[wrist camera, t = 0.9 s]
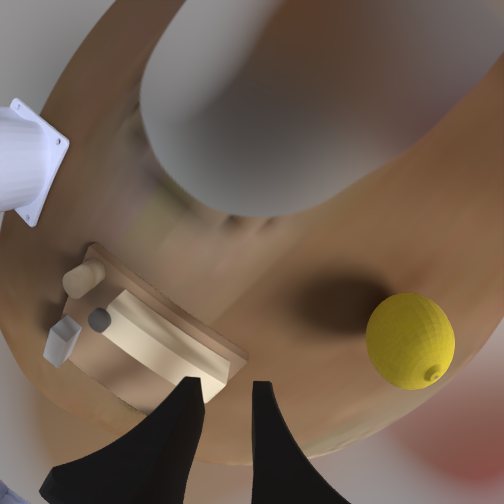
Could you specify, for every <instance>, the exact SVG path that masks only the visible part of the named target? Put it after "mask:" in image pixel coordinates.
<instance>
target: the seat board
mask: <svg viewBox="0 0 504 504" xmlns="http://www.w3.org/2000/svg"><path fill="white" fill-rule="evenodd" d="M63 287H64V289H65V291H66V293H67V294H68V295H69V296H68V298H67V301H66V304H65V307H64V310H63V312H62V315H61V318H60V321H59V322H58V323H57V324H55V325H54V326H53V327H52V328H51V329H50V333H49V336H48V340H47V343H46V347H45V351H44V355H43V356H44V357H45V358H46V359H47V360H48V361H49V362H50V363H51V364H53V365H54V366H55V367H56V368H57V369H58V368H59V367H60V366H61V365H62V363H63V362H64V361H65V360H66V359H67V358H68V359H69V360H70V361H72V362H73V363H74V364H75V365H76V366H78V367H79V368H80V369H81V370H83V371H84V372H85V373H86V374H88V375H89V376H90V377H92V378H93V379H94V380H96V381H97V382H98V383H100V384H101V385H102V386H104V387H105V388H106V389H108V390H109V391H111V392H112V393H113V394H115V395H116V396H118V397H119V398H121V399H122V400H124V401H125V402H127V403H128V404H130V405H131V406H133V407H134V408H136V409H137V410H139V411H141V412H142V413H144V414H145V415H147V416H148V415H149V414H150V413H151V412H153V411H154V410H155V409H156V408H157V407H158V406H159V404H160V403H161V402H162V401H163V400H164V399H165V398H166V397H167V396H168V395H169V394H170V393H171V392H172V391H173V389H174V388H175V387H176V385H174V384H173V383H171V382H169V381H168V380H166V379H165V378H163V377H162V376H160V375H158V374H157V373H155V372H154V371H152V370H151V369H149V368H148V367H147V366H145V365H144V364H142V363H141V362H139V361H138V360H136V359H135V358H134V357H132V356H131V355H130V354H128V353H127V352H125V351H124V350H123V349H121V348H120V347H119V346H117V345H116V344H115V343H113V342H112V341H111V340H110V339H108V338H107V337H106V336H104V335H103V334H102V333H98V332H96V331H94V330H93V329H92V328H91V327H90V325H89V323H88V316H89V314H91V313H92V312H93V311H94V310H95V309H96V308H103V309H105V310H106V309H107V307H108V305H109V304H110V303H111V302H112V301H113V300H114V299H115V298H116V297H118V296H119V295H120V294H121V293H122V292H123V291H124V290H125V289H126V290H127V291H129V292H130V293H131V294H132V295H134V296H135V297H136V298H138V299H139V300H140V301H142V302H143V303H144V304H145V305H147V306H148V307H149V308H151V309H152V310H154V311H155V312H156V313H158V314H159V315H160V316H162V317H163V318H164V319H166V320H167V321H169V322H170V323H171V324H173V325H174V326H176V327H177V328H179V329H180V330H181V331H183V332H184V333H186V334H187V335H189V336H190V337H192V338H193V339H195V340H196V341H198V342H199V343H201V344H202V345H204V346H205V347H207V348H208V349H210V350H211V351H213V352H215V353H216V354H218V355H219V356H221V357H222V358H224V359H226V360H227V361H229V362H230V367H229V373H228V378H227V381H228V380H229V379H231V378H232V377H233V376H234V375H235V374H236V373H237V372H238V371H239V370H240V369H241V368H242V367H243V366H244V365H245V364H246V363H247V362H248V357H249V353H247V352H245V351H244V350H242V349H241V348H239V347H238V346H236V345H234V344H233V343H231V342H230V341H228V340H227V339H225V338H224V337H222V336H221V335H219V334H218V333H216V332H215V331H213V330H212V329H210V328H209V327H207V326H206V325H204V324H203V323H201V322H200V321H198V320H197V319H196V318H194V317H193V316H191V315H190V314H188V313H187V312H186V311H184V310H183V309H181V308H180V307H179V306H177V305H176V304H174V303H173V302H172V301H170V300H169V299H168V298H166V297H165V296H163V295H162V294H161V293H159V292H158V291H157V290H155V289H154V288H153V287H151V286H150V285H149V284H148V283H146V282H145V281H144V280H142V279H141V278H140V277H138V276H137V275H136V274H135V273H133V272H132V271H131V270H130V269H128V268H127V267H126V266H125V265H123V264H122V263H121V262H120V261H118V260H117V259H116V258H115V257H114V256H112V255H111V254H110V253H109V252H107V251H106V250H105V249H104V248H103V247H102V246H100V245H99V244H98V243H97V242H96V243H94V244H92V245H90V246H89V248H88V250H87V252H86V254H85V257H84V259H83V261H82V263H81V265H79V266H78V267H76V268H74V269H73V270H71V271H69V272H68V273H66V274H65V275H64V277H63ZM204 403H205V402H204Z"/></svg>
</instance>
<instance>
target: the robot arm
mask: <svg viewBox="0 0 504 504" xmlns="http://www.w3.org/2000/svg"><path fill="white" fill-rule="evenodd" d="M59 140H61V142H60V144H59ZM68 147H69V140H68V139H67V138H66V137H65V136H63V135H62V134H61V133H60V132H58V131H57V130H56V129H55V128H53V127H52V126H51V125H50V124H49V123H47V122H46V121H45V120H44V119H43V118H41V117H40V116H39V115H38V114H36V113H35V112H34V111H33V110H32V109H30V108H29V107H28V106H27V105H26V104H24V103H23V102H22V101H21V100H20V99H18V98H15V99H14V100H13V101H12V103H11V105H10V107H0V212H4V211H7V210H11V209H15V211H16V212H17V213H18V214H19V215H20V216H21V217H22V218H23V220H24V221H25V222H26V223H27V224H28V225H29V226H30V227H34V226H36V224H37V221H38V218H39V215H40V213H41V210H42V207H43V204H44V202H45V199H46V197H47V194H48V191H49V189H50V187H51V184H52V182H53V179H54V177H55V175H56V173H57V170H58V168H59V166H60V164H61V162H62V160H63V157H64V155H65V153H66V151H67V149H68ZM204 415H205V407H204V400H203V393H202V385H201V378H200V377H190V376H185V377H184V378H183V379H182V380H181V381H180V382H179V383H178V385H177V386H176V387H175V388H174V389H173V391H172V392H171V393H170V394H169V395H168V396H167V397H166V398H165V399H164V400H163V401H162V402H161V403H160V404H159V406H158V407H157V408H156V409H155V410H154V411H153V412H151V413H150V414H149V415H148V416H147V417H146V418H145V419H144V420H143V421H141V422H140V423H139V424H138V425H137V426H135V427H134V428H133V429H132V430H130V431H129V432H128V433H126V434H125V435H123V436H122V437H120V438H119V439H117V440H116V441H115V442H113V443H111V444H109V445H108V446H106V447H104V448H102V449H100V450H98V451H96V452H94V453H92V454H90V455H88V456H85V457H83V458H81V459H78V460H75V461H72V462H69V463H66V464H63V465H59V466H56V467H53V468H52V469H51V471H50V473H49V474H48V476H47V477H46V479H45V481H44V483H43V485H42V486H41V488H40V490H39V493H40V494H41V496H42V497H43V498H44V499H45V500H46V501H47V502H48V503H50V504H183V500H184V494H185V488H186V483H187V479H188V475H189V471H190V468H191V465H192V462H193V459H194V455H195V452H196V449H197V446H198V442H199V439H200V436H201V432H202V427H203V421H204ZM252 454H253V488H252V502H251V504H351V503H349V502H348V501H347V500H346V499H345V498H343V497H342V496H341V495H340V494H339V493H338V492H337V491H336V490H335V489H333V488H332V487H331V486H330V485H329V484H328V483H327V482H326V480H325V479H324V478H323V477H322V476H321V475H320V474H319V473H318V472H317V470H316V469H315V468H314V467H313V466H312V464H311V463H310V462H309V460H308V459H307V458H306V456H305V455H304V454H303V452H302V451H301V449H300V448H299V446H298V445H297V443H296V441H295V440H294V438H293V436H292V434H291V433H290V431H289V429H288V427H287V425H286V423H285V421H284V419H283V416H282V414H281V412H280V410H279V407H278V404H277V402H276V399H275V395H274V392H273V387H272V383H271V382H270V381H253V391H252ZM0 504H31V503H29V502H27V501H26V500H25V499H23V498H22V497H20V496H19V495H17V494H16V493H14V492H13V491H12V490H10V489H9V488H8V487H7V486H6V485H5V484H4V483H3V482H2V481H1V480H0Z"/></svg>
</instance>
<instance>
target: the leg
mask: <svg viewBox="0 0 504 504" xmlns="http://www.w3.org/2000/svg"><path fill="white" fill-rule="evenodd" d="M88 323H89V325H90V327H91V328H92V329H93V330H94V331H96V332H98V333H102V334H103V335H104V336H106V337H107V338H108V339H110V340H111V341H112V342H113V343H115V344H116V345H117V346H119V347H120V348H121V349H123V350H124V351H125V352H127V353H128V354H130V355H131V356H132V357H134V358H135V359H136V360H138V361H139V362H141V363H142V364H144V365H145V366H147V367H148V368H149V369H151V370H152V371H154V372H155V373H157V374H158V375H160V376H162V377H163V378H165V379H166V380H168V381H169V382H171V383H173V384H174V385H176V386H177V385H178V383H179V382H180V381H181V380H182V379H183V378H184V377H185V376H190V377H200V378H201V385H202V393H203V400H204V402H205V403H207V402H208V401H209V400H210V399H212V398H213V397H214V396H215V395H216V394H217V393H218V392H219V391H220V390H221V389H222V388H224V387H225V386H226V383H227V378H228V373H229V367H230V362H229V361H227V360H226V359H224V358H222V357H221V356H219V355H218V354H216V353H215V352H213V351H211V350H210V349H208V348H207V347H205V346H204V345H202V344H201V343H199V342H198V341H196V340H195V339H193V338H192V337H190V336H189V335H187V334H186V333H184V332H183V331H181V330H180V329H179V328H177V327H176V326H174V325H173V324H171V323H170V322H169V321H167V320H166V319H164V318H163V317H162V316H160V315H159V314H158V313H156V312H155V311H154V310H152V309H151V308H149V307H148V306H147V305H145V304H144V303H143V302H142V301H140V300H139V299H138V298H136V297H135V296H134V295H132V294H131V293H130V292H129V291H127V290H126V289H125V290H124V291H123V292H122V293H121V294H120V295H119V296H118V297H116V298H115V299H114V300H113V301H112V302H111V303H110V304H109V305H108V307H107V309H106V310H105V309H103V308H96V309H95V310H94V311H93V312H92V313H91V314H89V316H88Z"/></svg>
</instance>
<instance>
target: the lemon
mask: <svg viewBox="0 0 504 504" xmlns="http://www.w3.org/2000/svg"><path fill="white" fill-rule="evenodd" d="M366 345H367V351H368V355H369V357H370V359H371V361H372V363H373V365H374V366H375V368H376V370H377V371H378V372H379V373H380V374H381V375H382V376H383V377H384V378H385V379H386V380H387V381H388V382H390V383H391V384H392V385H394V386H396V387H399V388H402V389H409V390H416V389H420V388H424V387H427V386H429V385H431V384H432V383H434V382H436V381H437V380H438V379H439V378H440V377H441V376H442V375H443V374H444V373H445V372H446V370H447V369H448V367H449V365H450V363H451V360H452V358H453V354H454V349H455V340H454V333H453V330H452V327H451V325H450V323H449V321H448V318H447V317H446V315H445V313H444V312H443V311H442V310H441V309H440V308H439V307H438V306H437V305H436V304H435V303H434V302H433V301H432V300H430V299H429V298H427V297H424V296H422V295H419V294H416V293H400V294H395V295H393V296H391V297H388V298H387V299H385V300H384V301H383V302H381V303H380V304H379V305H378V306H377V307H376V309H375V310H374V311H373V313H372V315H371V316H370V319H369V322H368V324H367V329H366Z"/></svg>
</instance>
